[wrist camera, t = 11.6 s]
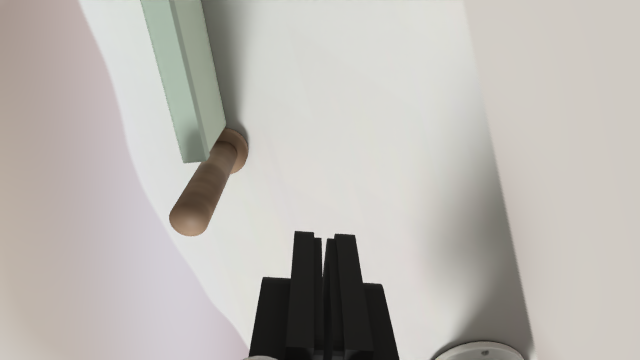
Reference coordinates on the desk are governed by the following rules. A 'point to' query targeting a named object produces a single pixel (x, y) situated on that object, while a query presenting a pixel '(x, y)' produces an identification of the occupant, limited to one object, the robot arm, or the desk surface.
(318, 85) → the desk surface
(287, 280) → the robot arm
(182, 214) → the brown turned wooden spindle
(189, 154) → the panel
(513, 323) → the desk surface
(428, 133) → the desk surface
